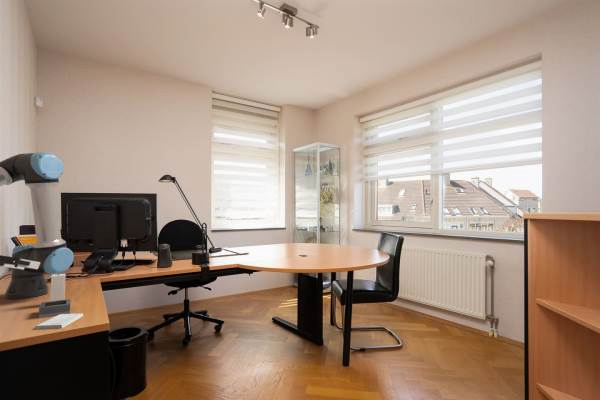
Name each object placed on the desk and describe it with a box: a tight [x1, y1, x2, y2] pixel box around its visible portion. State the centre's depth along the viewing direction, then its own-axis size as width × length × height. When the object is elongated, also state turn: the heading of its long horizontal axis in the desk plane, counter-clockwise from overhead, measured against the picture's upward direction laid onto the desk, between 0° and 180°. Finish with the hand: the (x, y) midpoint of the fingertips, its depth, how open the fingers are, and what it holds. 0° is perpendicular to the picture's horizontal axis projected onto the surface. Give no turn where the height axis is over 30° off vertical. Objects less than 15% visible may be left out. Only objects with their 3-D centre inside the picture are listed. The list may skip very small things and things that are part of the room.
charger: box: [49, 273, 66, 301], centre depth 130 cm, size 4×4×12 cm
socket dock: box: [38, 298, 72, 319], centre depth 118 cm, size 9×9×4 cm
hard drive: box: [34, 313, 84, 330], centre depth 108 cm, size 2×8×12 cm
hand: (31, 266), depth 125 cm, fingers open, 13 cm apart
